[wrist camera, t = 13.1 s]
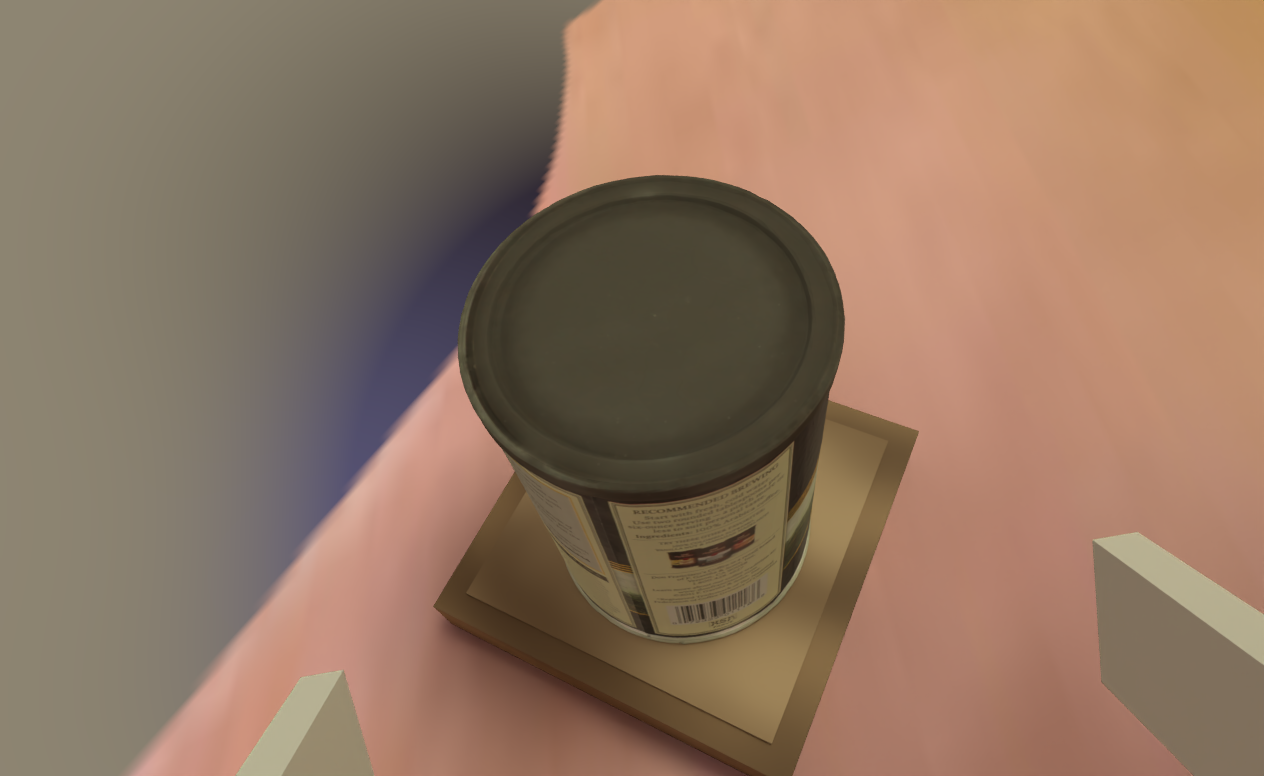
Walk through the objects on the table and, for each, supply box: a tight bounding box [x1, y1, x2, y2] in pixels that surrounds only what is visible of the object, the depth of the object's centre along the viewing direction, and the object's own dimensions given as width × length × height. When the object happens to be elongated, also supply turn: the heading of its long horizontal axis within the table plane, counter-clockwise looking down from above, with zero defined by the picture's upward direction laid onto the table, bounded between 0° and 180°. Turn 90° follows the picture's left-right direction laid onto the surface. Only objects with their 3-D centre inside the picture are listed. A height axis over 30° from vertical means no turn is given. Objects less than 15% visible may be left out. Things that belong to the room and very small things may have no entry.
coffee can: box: [458, 175, 845, 644], centre depth 28 cm, size 10×10×14 cm
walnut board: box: [433, 400, 919, 776], centre depth 35 cm, size 15×15×3 cm
